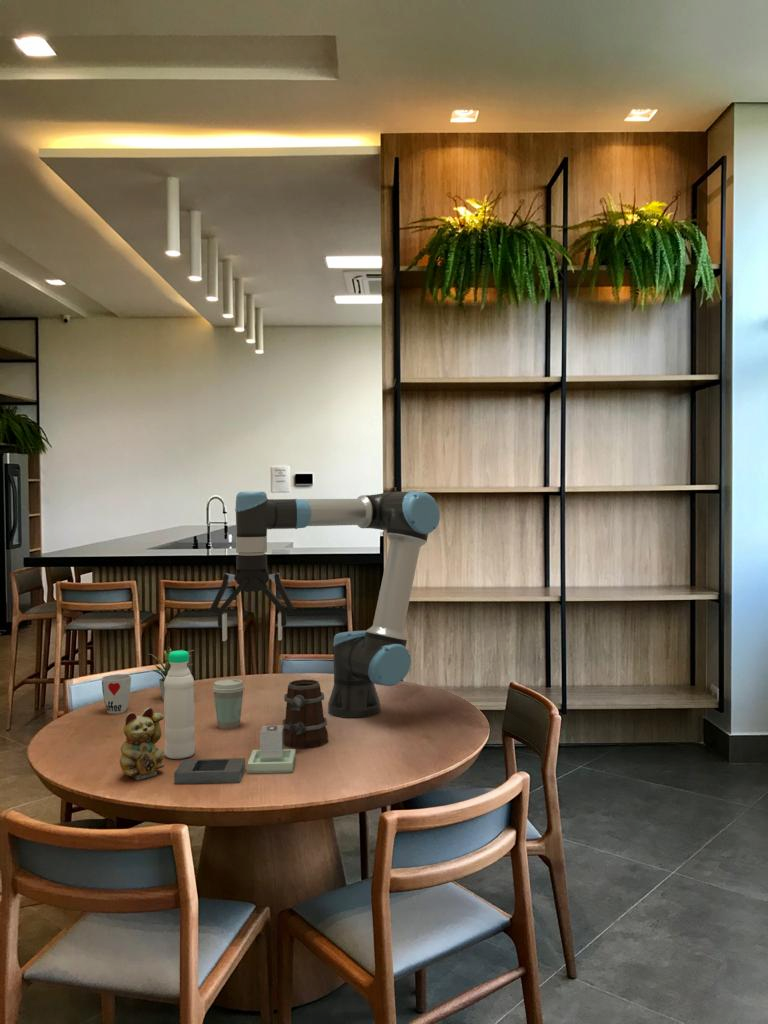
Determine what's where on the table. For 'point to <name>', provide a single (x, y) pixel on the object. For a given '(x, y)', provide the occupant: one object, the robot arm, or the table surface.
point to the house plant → (166, 668)
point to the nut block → (272, 743)
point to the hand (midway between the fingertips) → (252, 639)
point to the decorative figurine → (142, 745)
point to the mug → (304, 715)
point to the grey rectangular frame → (209, 771)
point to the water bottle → (179, 708)
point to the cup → (116, 692)
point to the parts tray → (271, 763)
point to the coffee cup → (228, 702)
